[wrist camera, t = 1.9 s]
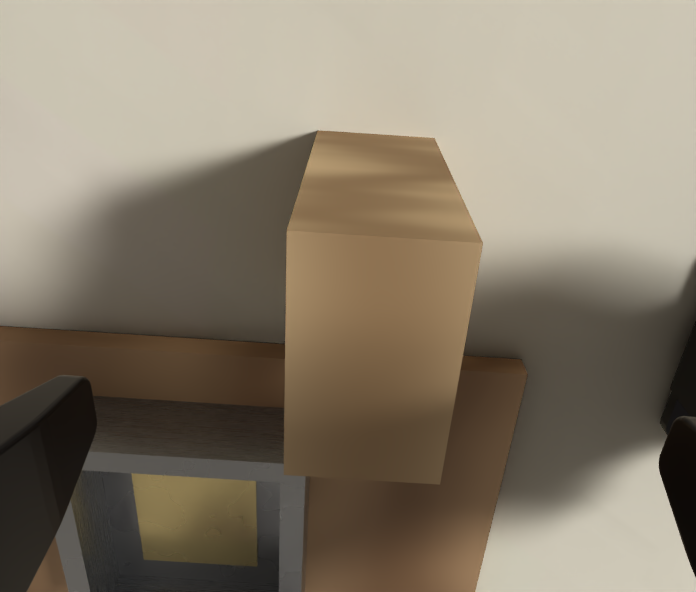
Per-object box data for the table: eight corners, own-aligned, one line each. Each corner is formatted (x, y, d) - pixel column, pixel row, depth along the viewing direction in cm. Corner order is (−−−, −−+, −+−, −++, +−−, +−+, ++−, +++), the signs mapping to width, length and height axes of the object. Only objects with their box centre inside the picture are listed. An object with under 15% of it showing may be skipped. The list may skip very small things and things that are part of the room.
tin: (312, 409, 18) (305, 465, 16) (305, 588, 22) (298, 652, 20) (72, 394, 18) (34, 447, 16) (107, 576, 22) (79, 638, 20)
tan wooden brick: (434, 138, 15) (483, 242, 9) (412, 308, 18) (439, 484, 11) (317, 130, 15) (286, 230, 9) (311, 302, 18) (283, 475, 11)
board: (521, 359, 18) (527, 374, 18) (455, 640, 25) (458, 659, 24) (-67, 321, 18) (-84, 335, 17) (22, 614, 25) (12, 632, 24)
